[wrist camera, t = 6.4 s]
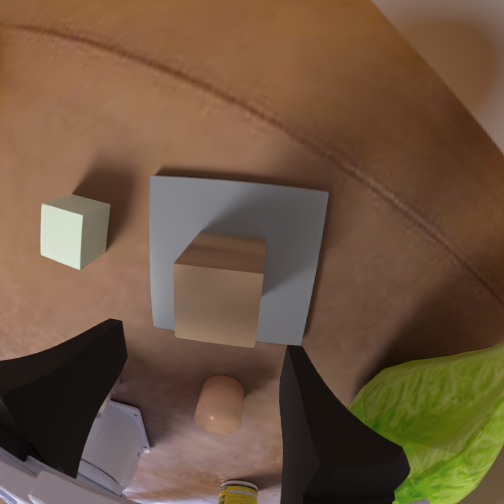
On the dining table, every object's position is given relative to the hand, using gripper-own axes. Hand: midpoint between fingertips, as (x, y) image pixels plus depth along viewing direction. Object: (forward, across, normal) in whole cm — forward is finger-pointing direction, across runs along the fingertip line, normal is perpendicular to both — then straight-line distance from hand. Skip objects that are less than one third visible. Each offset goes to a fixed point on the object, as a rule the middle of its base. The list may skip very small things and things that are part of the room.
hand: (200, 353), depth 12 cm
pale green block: (+10, +12, -2) cm, 16 cm away
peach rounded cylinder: (+10, 0, +13) cm, 17 cm away
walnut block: (+10, 0, 0) cm, 10 cm away
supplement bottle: (+11, -3, +35) cm, 37 cm away
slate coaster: (+10, 0, 0) cm, 10 cm away
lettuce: (+11, -18, +10) cm, 23 cm away
